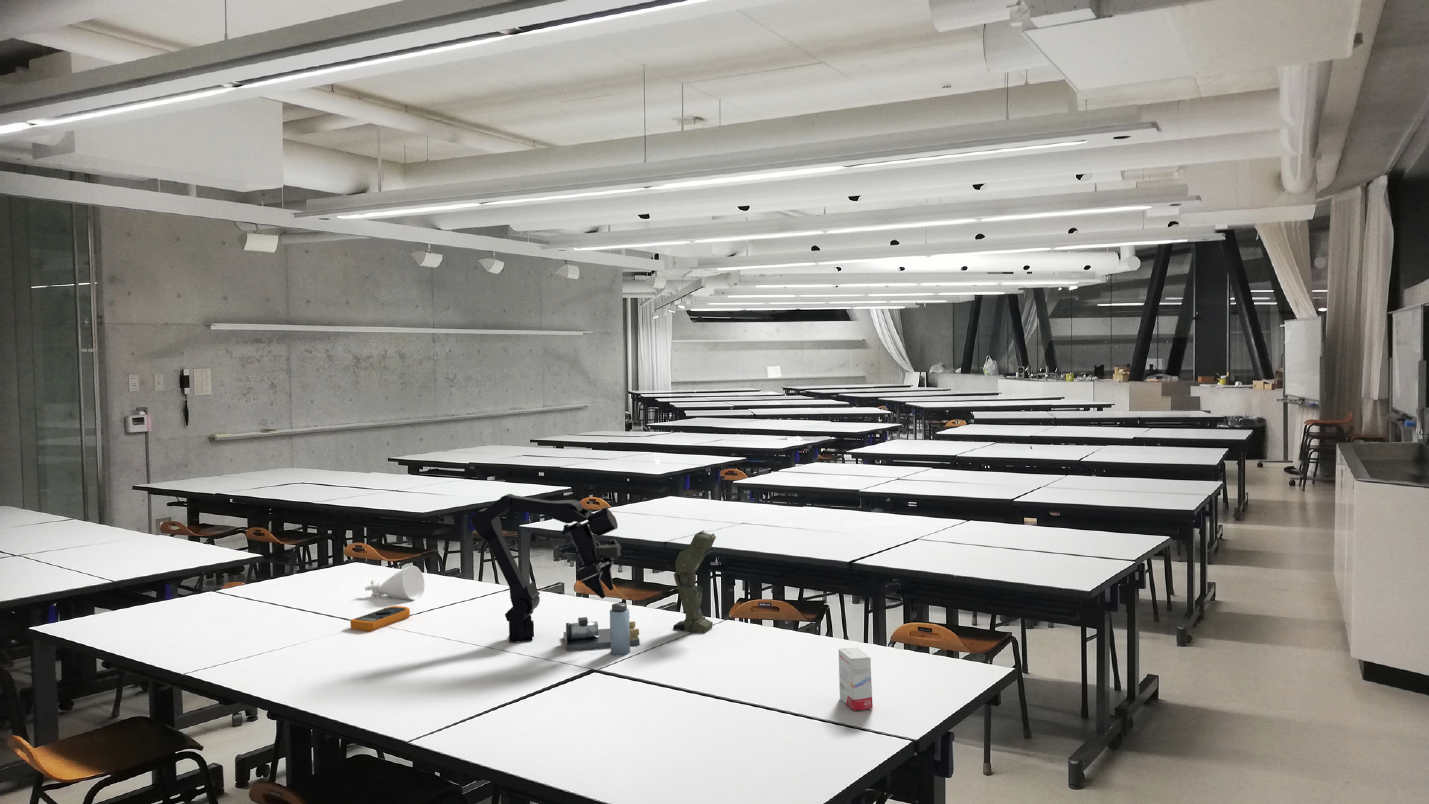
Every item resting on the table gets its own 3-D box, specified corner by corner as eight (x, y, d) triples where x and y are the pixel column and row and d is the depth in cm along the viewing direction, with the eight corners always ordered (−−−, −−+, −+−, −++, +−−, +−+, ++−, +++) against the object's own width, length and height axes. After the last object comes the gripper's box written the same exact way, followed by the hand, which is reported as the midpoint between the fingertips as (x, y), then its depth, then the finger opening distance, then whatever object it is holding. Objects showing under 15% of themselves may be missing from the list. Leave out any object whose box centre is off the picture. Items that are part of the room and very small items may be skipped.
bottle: (611, 656, 248) (610, 608, 248) (609, 650, 253) (608, 603, 253) (631, 654, 249) (630, 606, 249) (628, 648, 254) (627, 601, 254)
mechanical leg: (659, 626, 272) (680, 528, 268) (670, 619, 279) (690, 524, 275) (702, 641, 268) (723, 542, 264) (711, 634, 274) (732, 538, 270)
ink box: (873, 709, 207) (872, 657, 207) (852, 712, 206) (851, 659, 206) (858, 696, 216) (858, 646, 215) (838, 698, 215) (837, 647, 214)
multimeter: (413, 617, 291) (413, 606, 291) (370, 633, 274) (370, 622, 274) (392, 615, 294) (391, 604, 294) (348, 630, 278) (348, 619, 278)
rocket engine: (363, 568, 317) (407, 559, 312) (384, 584, 326) (427, 575, 320) (354, 599, 310) (399, 590, 305) (376, 614, 318) (420, 606, 313)
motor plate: (566, 651, 253) (566, 625, 253) (563, 637, 266) (563, 613, 266) (641, 644, 258) (640, 619, 257) (634, 631, 270) (634, 607, 270)
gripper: (601, 537, 251) (625, 590, 251) (618, 525, 269) (640, 575, 269) (565, 554, 252) (589, 606, 252) (584, 540, 271) (606, 589, 271)
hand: (607, 593), depth 261 cm, fingers open, 9 cm apart
